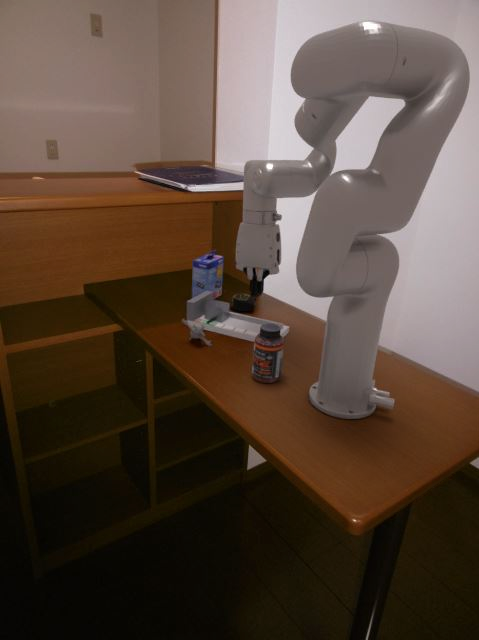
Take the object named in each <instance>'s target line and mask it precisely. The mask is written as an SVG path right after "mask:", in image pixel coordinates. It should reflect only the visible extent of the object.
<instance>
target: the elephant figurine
mask: <svg viewBox="0 0 479 640" xmlns="http://www.w3.org/2000/svg"><path fill="white" fill-rule="evenodd" d="M187 321H188V319H187V318H186V320H185V319H184V318H182V319H181V322H182V323H183V324H184V325H186V326H187V327H188V329H190V331H189V332H190V333H189V335H190V337H189V338H188V341H191V340H192V339H200V340H201V341H203V342H204V343H205V344H206V345H207V346H208V347H211V346H212V345H213V344H212V343H211V342H212V340H207V339H206V338H205V337H206V334H205V333H204V332H203V331H204V328H205V327H206V326H205V327H204V325H202V324H203V323H202V324H201V325H200V326H201V327H200V326H199V327H197V326H195V325H193V327H192V326H191V325H189V323H188V322H187Z"/></svg>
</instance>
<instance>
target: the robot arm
mask: <svg viewBox="0 0 479 640" xmlns="http://www.w3.org/2000/svg"><path fill="white" fill-rule="evenodd" d="M469 67H470V65H469V62H468V60H467V56H466V55H465V53H464V51H463V49H462V47H460V46H459V45H458V44H457V43H456V42H455V41H453V40H452V39H450V38H449V37H447V36H445V35H443V34H440V33H437V32H433V31H430V30H427V29H423V28H418V27H412V26H411V27H410V26H405V25H401V24H395V23H391V22H387V21H386V22H385V21H378V20H362V21H361V20H360V21H356V22H353V23H350V24H347V25H343V26H341V27H338V28H333V29H330V30H327V31H323V32H321V33H320V32H319V33H317V34H315V35H313V36H312V37H310V38H308V39H307V40H306V41H305V42H303V44H302V45H301V46H300V47H299V49H298V50H297V52H296V54H295V55H294V59H293V61H292V64H291V68H290V83H291V88H292V90H293V91H294V92H295V94H296V95H297V96H298V97H300V98H303V99H304V100H303V102H302V103H301V105H300V107H299V108H298V110H297V112H296V114H295V115H294V123H293V124H294V127H295V130H296V133H297V134H298V136H299V137H300V139H302V141H303V142H305V143H306V144H307V145H308V146H309V147H311V148H313V149H312V150H311V151H310V153H309V154H308V155H307V157H306V158H304V159H303V160H299V159H267V160H265V159H264V160H263V159H250V160H247V161H246V162H245V164H244V167H243V193H242V194H243V195H242V198H243V199H242V222H240V223H239V227H238V231H237V236H236V244H235V263H236V264H235V268H236V269H237V270H239V271H242V272H244V274H245V275H246V276H247V279H248V280H249V293H250V295H251V296H252V297H253V296H255V298H259V297H260V296H262V294H263V293H264V291H265V290H264V287H265V279H266V278H267V277H268V276H272V275H277V274H279V273H280V267H279V266H280V265H282V264H281V263H282V237H281V236H282V235H281V227H280V224H278V223H277V222H279V221H282V218H283V216H282V214H280V213H278V210H277V203H278V200H277V199H287V198H288V199H289V198H292V199H293V198H296V199H297V198H306V197H309V196H312V195H313V194H314V193H315V195H314V197H313V201H312V204H311V206H310V210H309V214H308V217H307V220H306V224H305V228H304V231H303V235H302V238H301V243H300V245H299V249H298V252H297V257H296V262H295V263H296V264H295V265H296V266H295V272H296V280H297V283H298V285H299V286H300V288H301V290H302V291H303V292H304V293H305V294H307V295H308V296H310V297H313V298H319V299H323V298H331V297H332V299H331V301H330V304H329V306H328V309H327V315H326V321H325V329H324V335H323V344H322V350H321V360H320V368H319V376H318V381H316V382H314V383H313V384H312V385H310V387H309V390H308V400H309V401H310V404H312V406H314V407H315V408H316V409H317V410H318V411H320V412H322V413H324V414H326V415H328V416H331V417H335V418H337V419H338V418H340V419H346V420H353V419H354V420H355V419H363V418H366V417H368V416H371V415H372V414H373V413H374V412H375V410H376V408H377V406H380V407H382V408H385V409H388V410H393V408H394V404H395V398H391V397H390V396H391V395H390V394H391V393H390V391H386V390H380V389H378V387H376V386H375V384H376V379H373V376H374V369H375V364H376V359H377V354H378V349H379V348H378V347H379V344H380V337H381V331H382V328H383V323H384V317H385V312H386V308H387V304H388V302H389V301H388V300H389V298H390V294H391V292H392V290H393V287H394V285H395V282H396V280H397V276H398V273H399V269H400V256H399V251H398V250H397V247H396V245H395V244H394V243H393V242H392V240H390V239H389V238H387V237H386V236H383V235H384V234H385V235H387V234H391V233H395V232H398V231H401V230H402V229H404V228H405V227H406V226H407V225H408V224H409V222H410V220H411V219H412V217H413V215H414V213H415V211H416V209H417V206H418V204H419V202H420V201H421V197H422V195H423V193H424V191H425V188H426V186H427V183H428V181H429V180H430V177H431V174H432V173H433V170H434V167H435V165H436V162H437V160H438V157H439V155H440V153H441V151H442V148H443V147H444V144H445V143H446V141H447V139H448V138H449V135H450V133H451V132H452V130H453V128H454V126H455V124H456V123H457V120H458V118H459V117H460V115H461V114H462V113H461V112H462V110H463V108H464V106H465V103H466V100H467V97H468V93H469V88H470V80H471V79H470V75H471V74H470V68H469ZM370 97H372V98H373V97H375V98H384V99H396V100H403V101H404V106H403V107H402V108H401V109H400V110H398V113H396V115H394V116H393V118H391V120H390V122H389V123H388V124H387V125H386V127H385V128H384V130H383V131H382V133H381V135H380V138H379V140H378V142H377V146H376V148H375V151H374V154H373V156H372V159H371V161H370V164H369V165H368V166H367V167H366V168H361V169H360V168H359V169H358V168H357V169H356V168H355V169H354V168H353V169H351V168H349V169H342V170H338V171H336V172H334V173H332V172H333V170H334V168H335V164H336V160H337V159H336V158H337V151H338V150H337V143H336V140H337V139H338V137H339V136H340V135H341V134H342V133H343V132H344V130H345V129H346V128H347V126H348V125H349V123H351V121H352V120H353V119H354V117H356V114H357V113H358V112H359V110H360V109H361V108H362V107H363V106H364V104H365V102H366V101H368V99H369V98H370ZM276 223H277V224H276ZM257 269H258V270H257Z"/></svg>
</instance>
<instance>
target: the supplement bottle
mask: <svg viewBox="0 0 479 640" xmlns="http://www.w3.org/2000/svg"><path fill="white" fill-rule="evenodd" d="M280 330H281V328H280V326H279V325H277V324H273V323H265V324H262V325H261V327H260V333H259V334H258V335H257V336H256V337H255V341H254V343H253V357H252V369H251V375H252V377H253V379H255V381H258V382H259V383H264V384H272V383H276V382H277V381H279V380H280V378H281V377H282V376H281V375H282V366H283V357H284V347H285V339H284V337H282V336H281V335H280Z"/></svg>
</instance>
